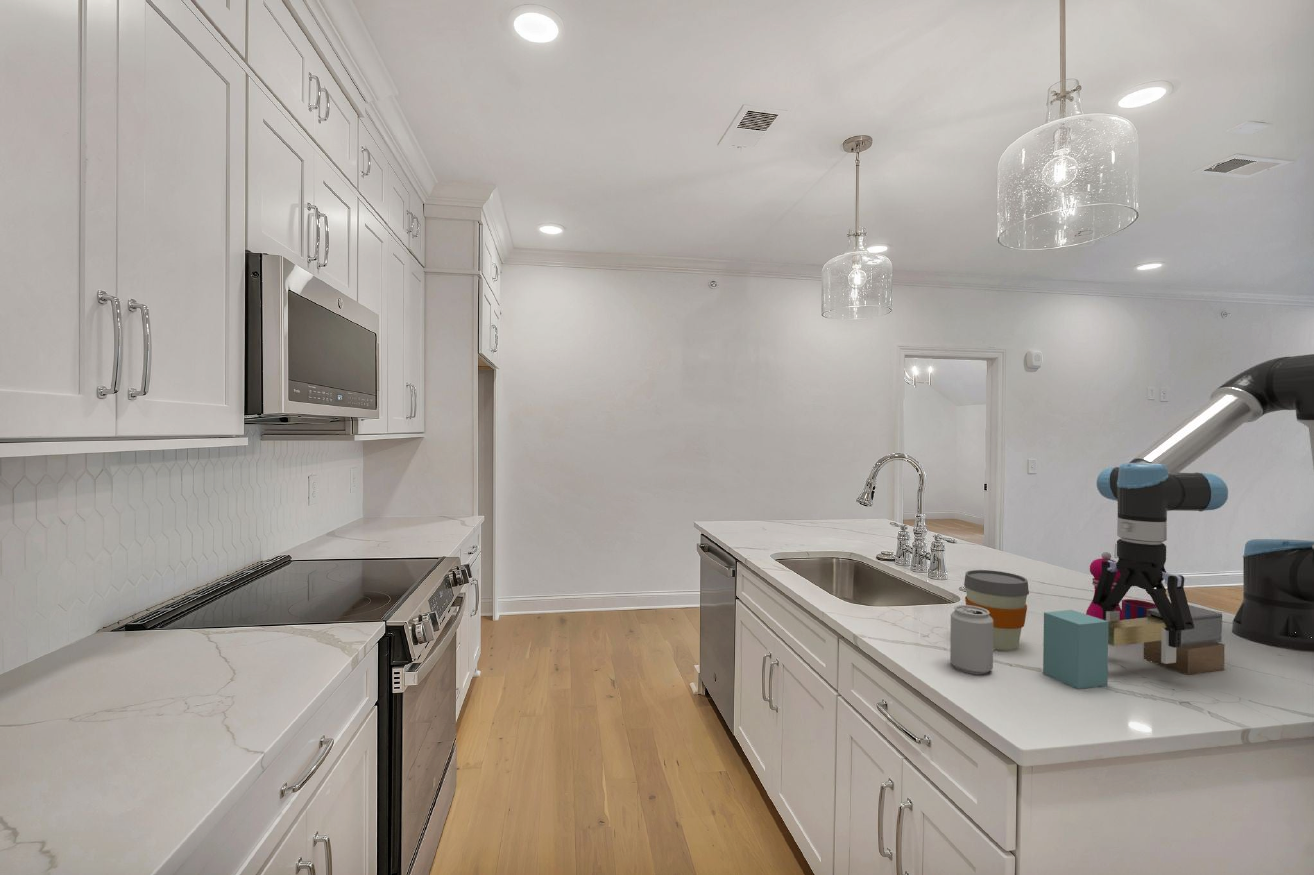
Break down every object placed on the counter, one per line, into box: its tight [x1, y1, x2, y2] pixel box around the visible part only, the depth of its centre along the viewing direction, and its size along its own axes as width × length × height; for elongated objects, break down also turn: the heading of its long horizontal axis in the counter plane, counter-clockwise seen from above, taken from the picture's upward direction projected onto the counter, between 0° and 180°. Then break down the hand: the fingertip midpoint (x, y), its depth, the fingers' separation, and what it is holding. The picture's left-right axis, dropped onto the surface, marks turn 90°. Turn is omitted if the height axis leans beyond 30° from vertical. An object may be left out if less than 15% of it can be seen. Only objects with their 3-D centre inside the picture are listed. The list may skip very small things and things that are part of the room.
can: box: [949, 604, 994, 675], centre depth 114 cm, size 8×8×12 cm
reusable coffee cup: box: [963, 569, 1030, 651], centre depth 128 cm, size 13×13×15 cm
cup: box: [1121, 598, 1157, 620], centre depth 134 cm, size 7×10×7 cm
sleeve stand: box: [1143, 604, 1225, 676], centre depth 116 cm, size 12×8×11 cm, turn 105°
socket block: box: [1042, 609, 1109, 690], centre depth 109 cm, size 7×7×12 cm
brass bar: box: [1108, 616, 1167, 647], centre depth 115 cm, size 28×3×3 cm, turn 105°
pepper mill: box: [1085, 551, 1125, 620], centre depth 131 cm, size 7×7×20 cm
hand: (1139, 651), depth 113 cm, fingers open, 10 cm apart
